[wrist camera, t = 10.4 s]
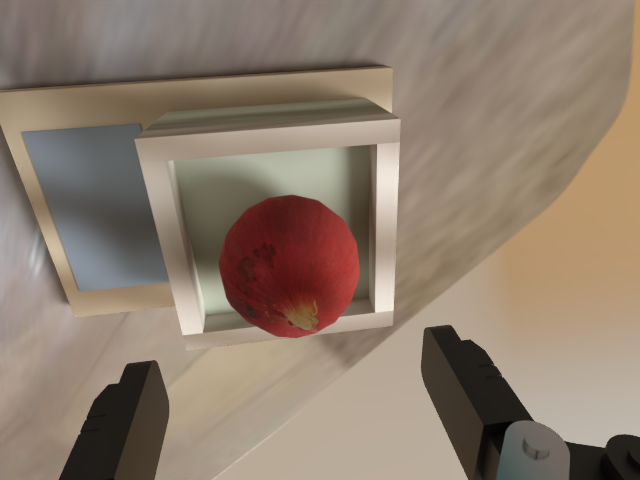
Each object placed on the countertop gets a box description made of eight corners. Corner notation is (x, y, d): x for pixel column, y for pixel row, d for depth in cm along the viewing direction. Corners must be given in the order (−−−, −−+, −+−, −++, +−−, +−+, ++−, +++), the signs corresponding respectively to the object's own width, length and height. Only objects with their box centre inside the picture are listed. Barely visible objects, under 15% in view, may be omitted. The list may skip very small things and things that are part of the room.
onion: (240, 288, 22) (230, 406, 15) (213, 185, 20) (187, 265, 12) (347, 269, 22) (389, 374, 15) (335, 165, 20) (378, 231, 13)
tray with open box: (4, 89, 22) (-115, 116, 15) (385, 65, 24) (437, 78, 17) (83, 304, 29) (24, 393, 22) (381, 271, 31) (417, 343, 24)
